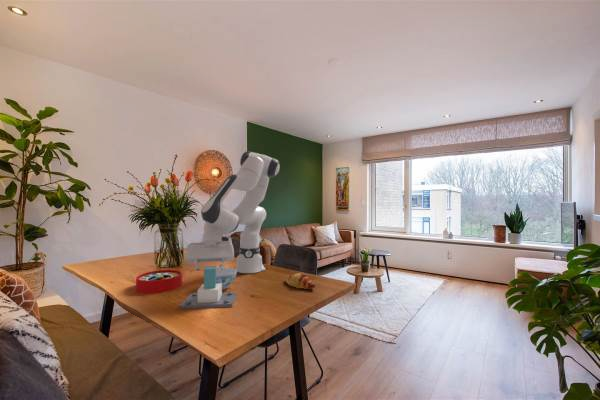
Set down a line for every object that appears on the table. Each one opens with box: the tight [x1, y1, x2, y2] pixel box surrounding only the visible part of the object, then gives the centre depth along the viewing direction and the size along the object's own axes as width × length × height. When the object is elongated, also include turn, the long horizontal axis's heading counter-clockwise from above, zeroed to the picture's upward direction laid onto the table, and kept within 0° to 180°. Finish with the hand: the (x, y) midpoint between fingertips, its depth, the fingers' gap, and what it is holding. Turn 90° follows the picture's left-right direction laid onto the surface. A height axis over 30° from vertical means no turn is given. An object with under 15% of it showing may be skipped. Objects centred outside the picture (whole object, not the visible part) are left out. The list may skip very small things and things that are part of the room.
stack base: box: [179, 283, 238, 310], centre depth 112 cm, size 13×20×6 cm, turn 96°
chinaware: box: [216, 267, 238, 290], centre depth 131 cm, size 15×15×8 cm
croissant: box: [284, 272, 316, 290], centre depth 134 cm, size 21×10×8 cm, turn 43°
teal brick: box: [203, 265, 217, 289], centre depth 112 cm, size 4×4×8 cm
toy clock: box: [135, 269, 183, 294], centre depth 132 cm, size 20×6×20 cm
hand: (209, 269), depth 113 cm, fingers open, 8 cm apart
